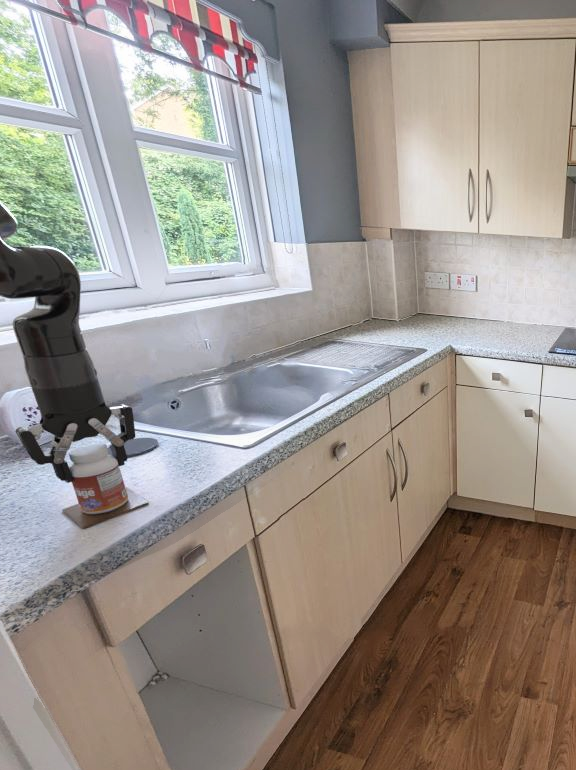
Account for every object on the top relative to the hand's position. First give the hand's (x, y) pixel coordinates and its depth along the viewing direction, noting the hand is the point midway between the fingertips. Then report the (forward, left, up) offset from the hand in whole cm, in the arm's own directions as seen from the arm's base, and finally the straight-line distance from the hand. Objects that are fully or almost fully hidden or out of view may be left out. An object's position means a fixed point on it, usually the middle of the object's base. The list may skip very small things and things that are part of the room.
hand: (95, 472), depth 77 cm
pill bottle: (0, 0, -7) cm, 7 cm away
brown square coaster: (0, 0, -7) cm, 7 cm away
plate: (+12, +23, -7) cm, 27 cm away
